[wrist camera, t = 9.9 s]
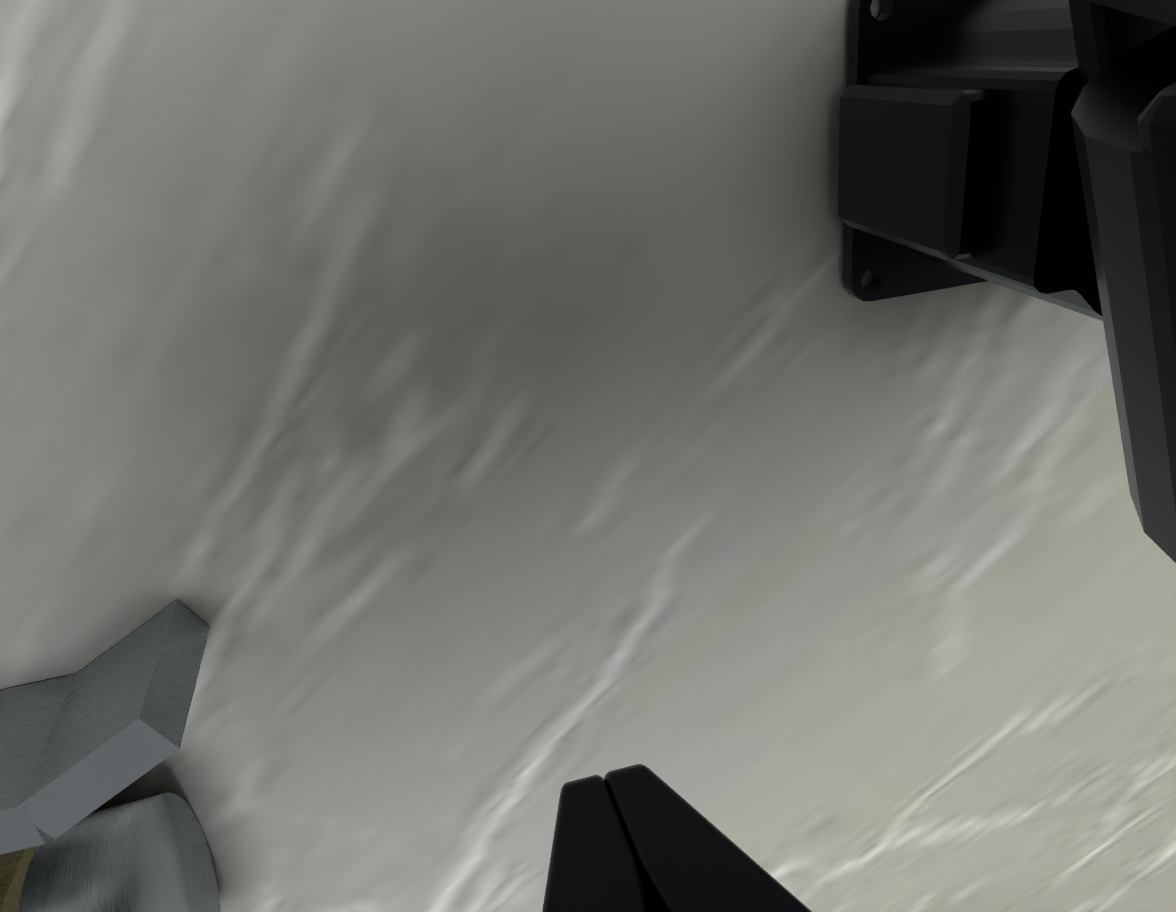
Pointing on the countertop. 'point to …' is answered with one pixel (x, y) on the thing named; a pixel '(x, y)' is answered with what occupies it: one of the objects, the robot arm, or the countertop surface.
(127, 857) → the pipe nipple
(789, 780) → the countertop surface
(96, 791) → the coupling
